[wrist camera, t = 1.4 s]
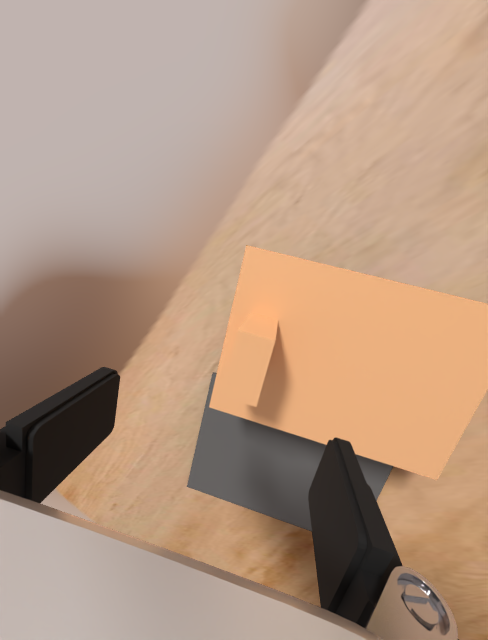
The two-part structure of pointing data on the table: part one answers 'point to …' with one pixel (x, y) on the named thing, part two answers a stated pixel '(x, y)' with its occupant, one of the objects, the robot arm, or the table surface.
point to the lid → (353, 360)
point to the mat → (263, 466)
